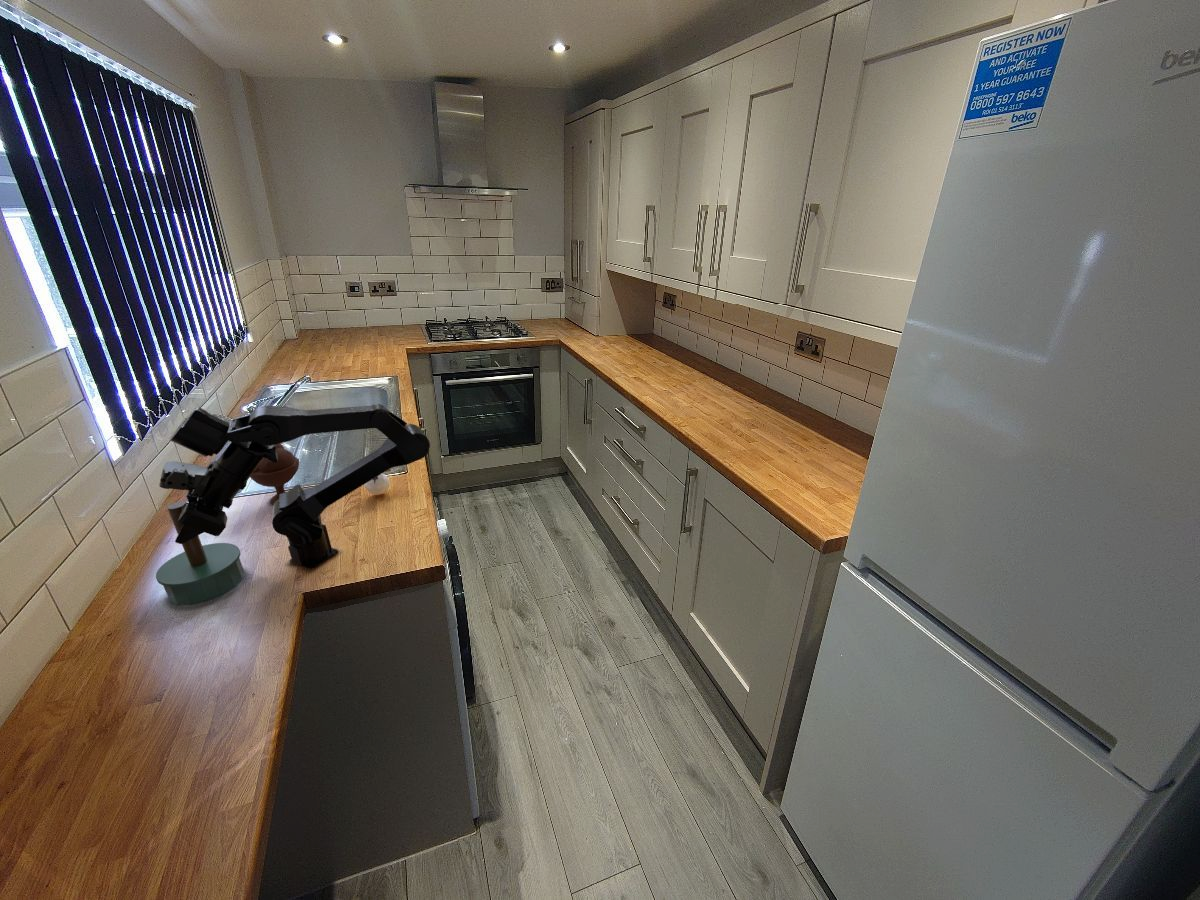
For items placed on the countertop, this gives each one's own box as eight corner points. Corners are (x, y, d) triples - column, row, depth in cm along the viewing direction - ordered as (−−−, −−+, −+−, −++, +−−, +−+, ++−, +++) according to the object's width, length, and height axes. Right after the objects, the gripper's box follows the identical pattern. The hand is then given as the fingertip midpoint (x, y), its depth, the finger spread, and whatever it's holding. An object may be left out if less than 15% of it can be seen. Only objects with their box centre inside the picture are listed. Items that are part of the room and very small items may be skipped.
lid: (250, 543, 103) (229, 483, 98) (228, 581, 92) (204, 517, 87) (175, 554, 100) (150, 494, 95) (144, 596, 89) (113, 530, 84)
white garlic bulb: (362, 506, 124) (356, 480, 121) (364, 491, 131) (358, 466, 128) (395, 500, 126) (389, 475, 124) (395, 486, 133) (390, 462, 130)
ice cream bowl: (246, 506, 125) (227, 449, 119) (287, 486, 135) (271, 432, 129) (278, 514, 122) (260, 455, 116) (317, 492, 131) (303, 437, 125)
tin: (219, 562, 105) (211, 541, 103) (258, 575, 101) (251, 554, 99) (155, 598, 95) (145, 576, 93) (196, 614, 91) (187, 591, 89)
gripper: (191, 428, 96) (138, 496, 95) (175, 466, 81) (111, 547, 80) (253, 458, 102) (204, 522, 102) (249, 498, 88) (191, 573, 87)
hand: (179, 538), depth 93 cm, fingers closed on lid, 3 cm apart
